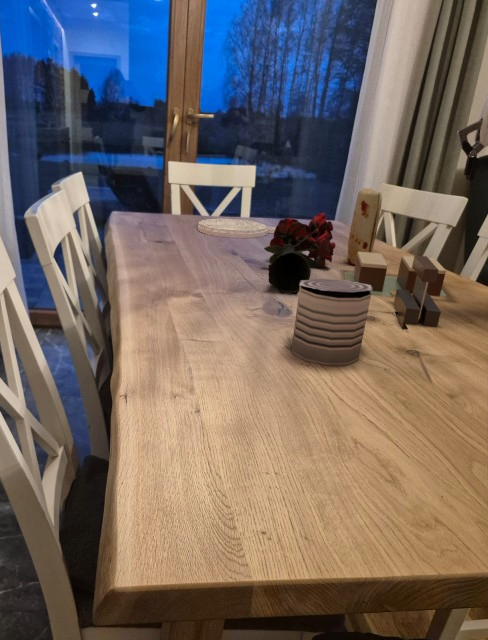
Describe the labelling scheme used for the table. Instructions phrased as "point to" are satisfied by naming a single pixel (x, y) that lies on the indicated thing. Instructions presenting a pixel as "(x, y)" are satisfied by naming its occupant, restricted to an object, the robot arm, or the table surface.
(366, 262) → the cake slice
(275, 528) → the table surface
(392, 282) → the green flat square board
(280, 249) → the rose vase
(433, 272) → the knife
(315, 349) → the can
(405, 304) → the knife block
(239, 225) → the medallion
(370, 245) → the food model
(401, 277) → the cake
